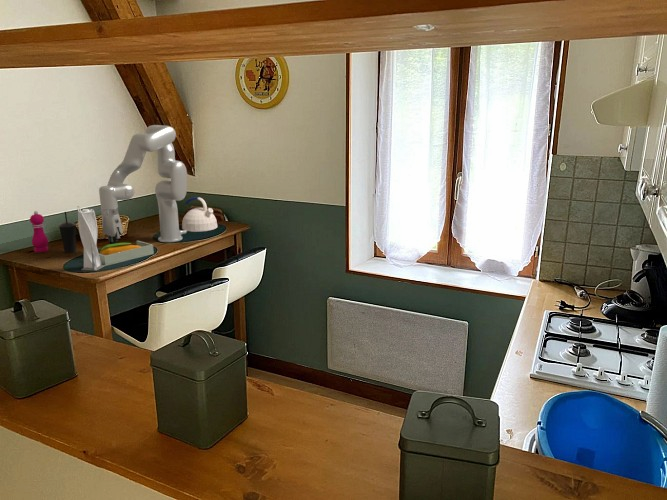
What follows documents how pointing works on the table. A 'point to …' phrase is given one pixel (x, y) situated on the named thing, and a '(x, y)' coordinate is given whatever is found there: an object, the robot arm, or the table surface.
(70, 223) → the drinking cup
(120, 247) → the corn
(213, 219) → the kettle
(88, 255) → the skyscraper
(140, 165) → the robot arm
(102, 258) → the bin
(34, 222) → the pepper mill
